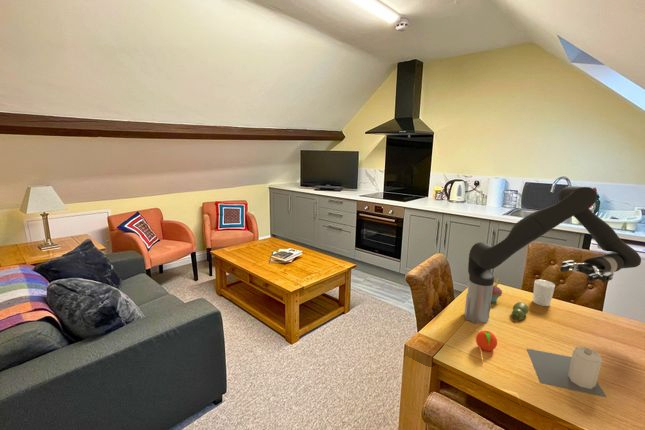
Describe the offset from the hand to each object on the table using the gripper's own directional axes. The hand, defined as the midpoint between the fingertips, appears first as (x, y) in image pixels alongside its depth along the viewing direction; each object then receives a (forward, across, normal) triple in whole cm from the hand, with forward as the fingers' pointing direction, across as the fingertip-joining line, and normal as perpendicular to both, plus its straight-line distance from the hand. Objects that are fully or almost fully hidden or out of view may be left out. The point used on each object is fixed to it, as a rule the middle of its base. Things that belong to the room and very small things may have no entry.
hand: (575, 273), depth 115 cm
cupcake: (-5, -34, +28) cm, 44 cm away
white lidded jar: (+16, +15, +27) cm, 35 cm away
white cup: (-24, -22, +28) cm, 43 cm away
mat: (+17, +10, +28) cm, 34 cm away
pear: (-3, -19, +28) cm, 34 cm away
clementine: (+30, -9, +28) cm, 42 cm away
